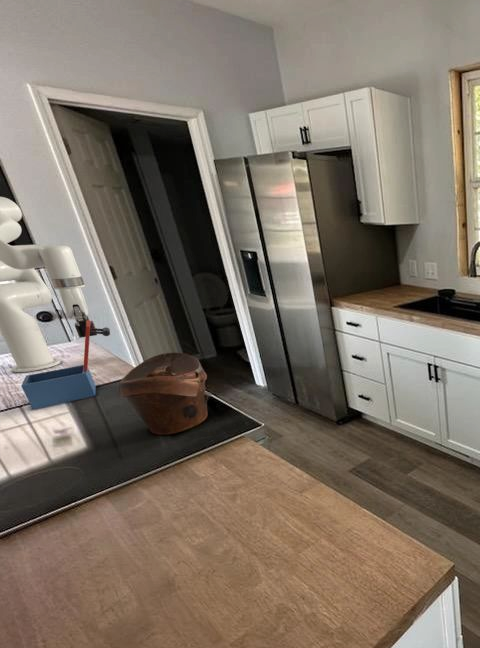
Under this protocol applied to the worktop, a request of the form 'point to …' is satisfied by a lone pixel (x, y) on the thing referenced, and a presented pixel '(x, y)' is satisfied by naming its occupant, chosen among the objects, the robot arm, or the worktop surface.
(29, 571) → the worktop surface
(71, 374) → the storage box
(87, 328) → the box lid
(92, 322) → the walnut block
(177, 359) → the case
